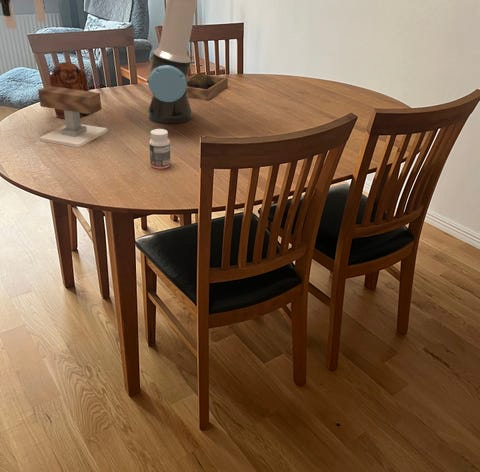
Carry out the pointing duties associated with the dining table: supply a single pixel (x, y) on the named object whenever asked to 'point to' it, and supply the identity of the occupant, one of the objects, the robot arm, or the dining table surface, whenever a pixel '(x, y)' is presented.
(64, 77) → the wooden figurine
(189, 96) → the wooden tray
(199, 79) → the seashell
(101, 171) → the dining table surface
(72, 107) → the bar
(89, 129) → the fulcrum
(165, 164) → the pill bottle
